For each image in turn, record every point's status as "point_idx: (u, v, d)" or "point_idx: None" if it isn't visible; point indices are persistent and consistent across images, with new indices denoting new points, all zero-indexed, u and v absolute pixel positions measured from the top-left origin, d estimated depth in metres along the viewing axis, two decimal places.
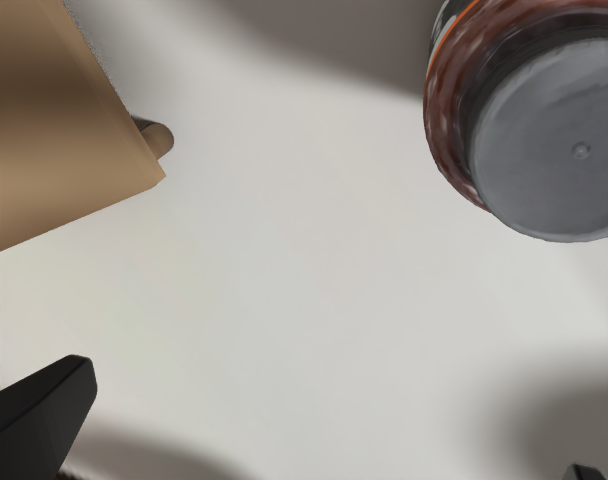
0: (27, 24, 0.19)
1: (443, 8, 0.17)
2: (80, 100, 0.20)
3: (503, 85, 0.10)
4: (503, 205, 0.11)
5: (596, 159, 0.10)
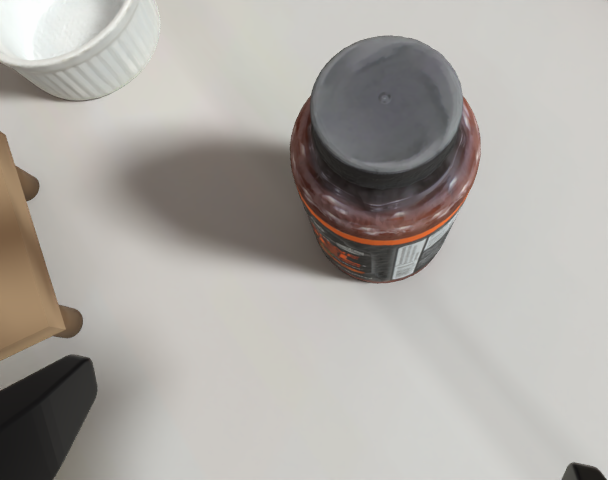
0: None
1: None
2: (6, 246, 0.22)
3: (326, 65, 0.14)
4: (340, 143, 0.14)
5: (396, 102, 0.14)
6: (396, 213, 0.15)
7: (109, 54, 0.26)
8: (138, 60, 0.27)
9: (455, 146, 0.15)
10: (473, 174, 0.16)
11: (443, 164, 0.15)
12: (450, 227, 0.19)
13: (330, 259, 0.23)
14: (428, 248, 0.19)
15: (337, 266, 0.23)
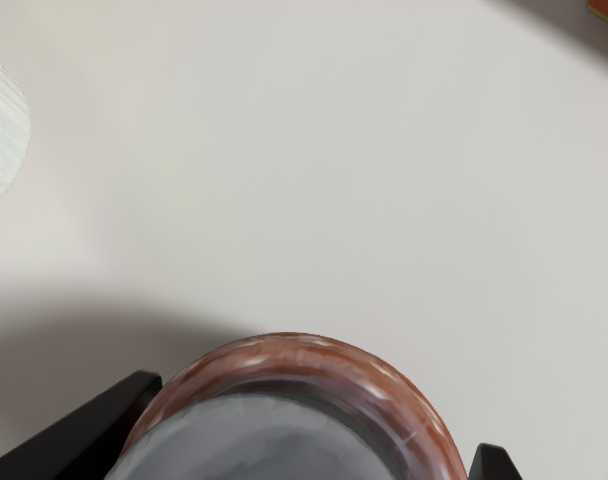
0: None
1: None
2: None
3: (115, 467, 0.06)
4: None
5: None
6: None
7: None
8: None
9: None
10: None
11: None
12: None
13: None
14: None
15: None
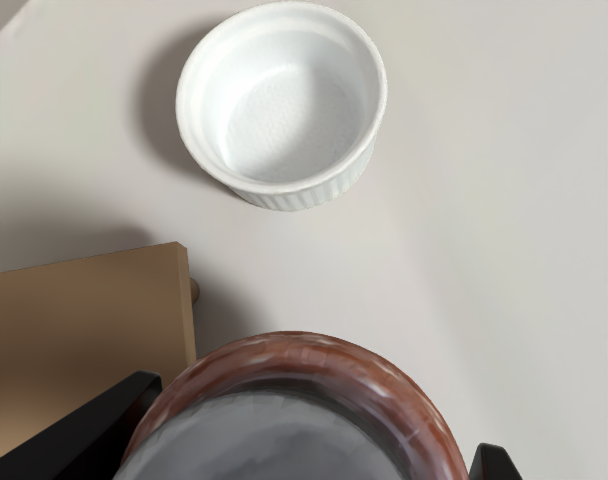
0: (159, 320, 0.20)
1: None
2: None
3: (125, 463, 0.06)
4: None
5: None
6: None
7: (322, 187, 0.22)
8: (344, 187, 0.24)
9: None
10: None
11: None
12: None
13: None
14: None
15: None
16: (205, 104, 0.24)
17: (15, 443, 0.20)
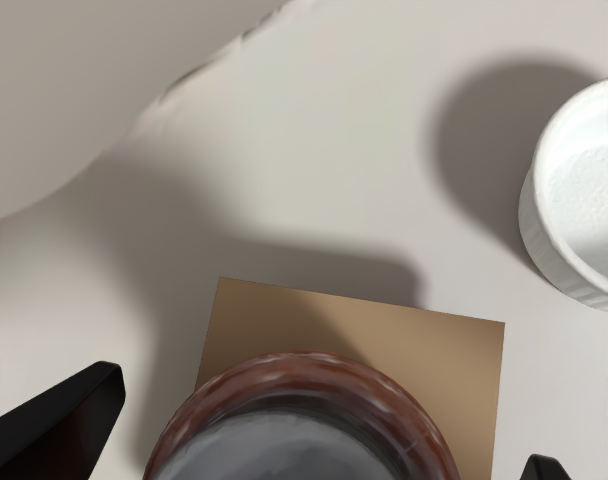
0: (466, 409, 0.17)
1: None
2: None
3: (157, 474, 0.07)
4: None
5: None
6: None
7: None
8: None
9: None
10: None
11: None
12: None
13: None
14: None
15: None
16: None
17: None
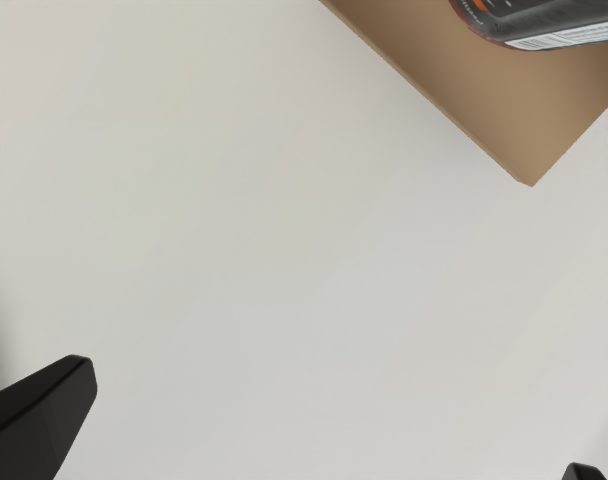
0: None
1: None
2: None
3: None
4: None
5: None
6: None
7: None
8: None
9: None
10: None
11: None
12: None
13: None
14: None
15: None
16: None
17: None
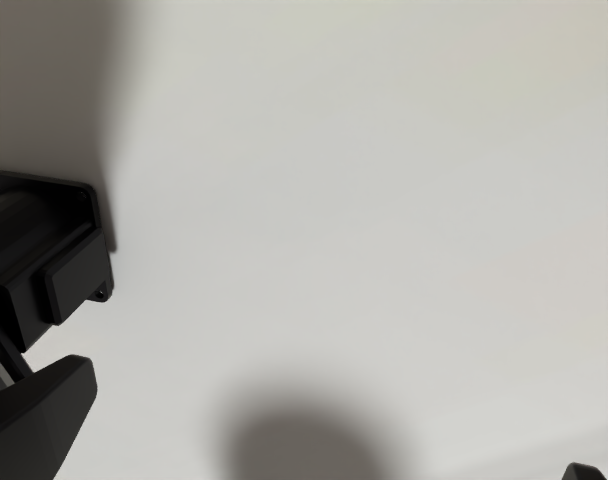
0: None
1: None
2: None
3: None
4: None
5: None
6: None
7: None
8: None
9: None
10: None
11: None
12: None
13: None
14: None
15: None
16: None
17: None
